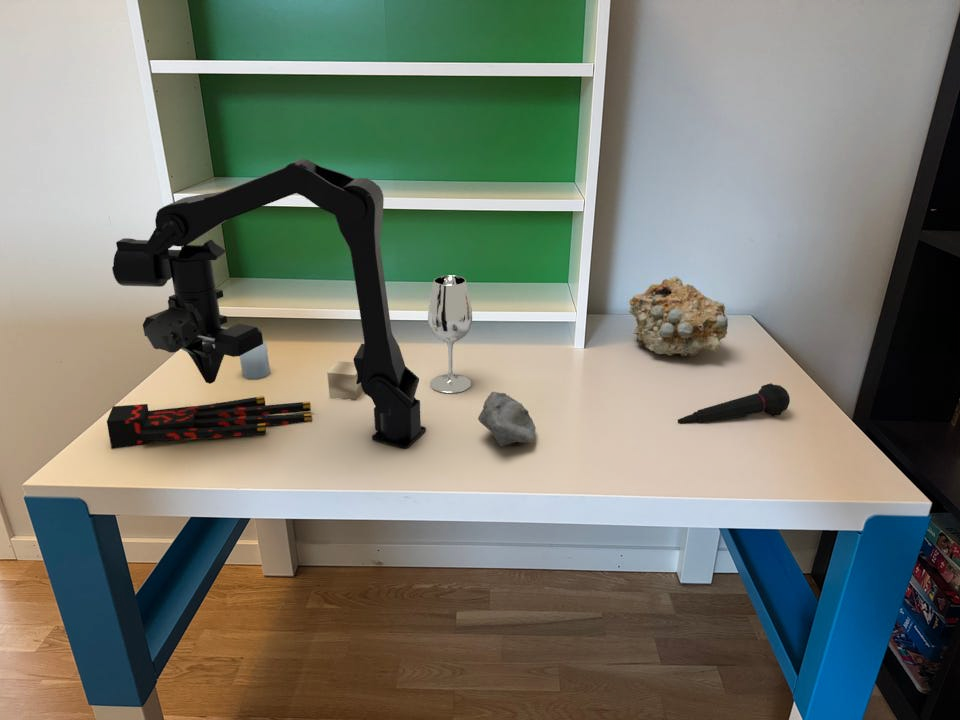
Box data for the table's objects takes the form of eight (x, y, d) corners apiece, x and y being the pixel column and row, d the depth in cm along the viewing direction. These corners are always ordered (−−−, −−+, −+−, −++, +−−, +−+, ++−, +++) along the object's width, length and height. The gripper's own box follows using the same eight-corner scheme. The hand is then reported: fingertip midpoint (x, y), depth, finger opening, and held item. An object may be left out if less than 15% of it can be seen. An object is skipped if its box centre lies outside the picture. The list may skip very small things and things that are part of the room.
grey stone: (535, 461, 103) (537, 414, 100) (475, 458, 104) (475, 411, 101) (534, 424, 114) (537, 381, 110) (480, 422, 114) (480, 378, 111)
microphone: (683, 444, 114) (790, 419, 118) (689, 421, 110) (800, 396, 114) (668, 421, 118) (773, 396, 121) (673, 398, 114) (781, 373, 118)
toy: (310, 415, 119) (118, 430, 111) (309, 389, 117) (113, 403, 109) (313, 439, 112) (108, 457, 103) (312, 412, 110) (103, 428, 101)
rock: (622, 336, 152) (623, 270, 147) (710, 332, 151) (715, 265, 145) (636, 370, 135) (638, 297, 129) (736, 366, 134) (742, 292, 128)
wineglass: (478, 380, 129) (480, 277, 120) (460, 397, 122) (460, 289, 114) (441, 372, 132) (440, 271, 123) (421, 388, 125) (418, 283, 117)
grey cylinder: (275, 371, 131) (271, 342, 129) (256, 381, 127) (252, 351, 125) (256, 366, 133) (251, 337, 131) (236, 376, 129) (232, 346, 127)
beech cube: (365, 388, 125) (364, 363, 123) (356, 400, 121) (355, 375, 119) (339, 385, 126) (337, 361, 124) (329, 398, 122) (327, 372, 119)
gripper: (102, 293, 98) (124, 391, 104) (201, 314, 91) (218, 418, 97) (164, 272, 107) (181, 364, 114) (259, 290, 100) (271, 386, 107)
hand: (210, 382), depth 107 cm, fingers closed
